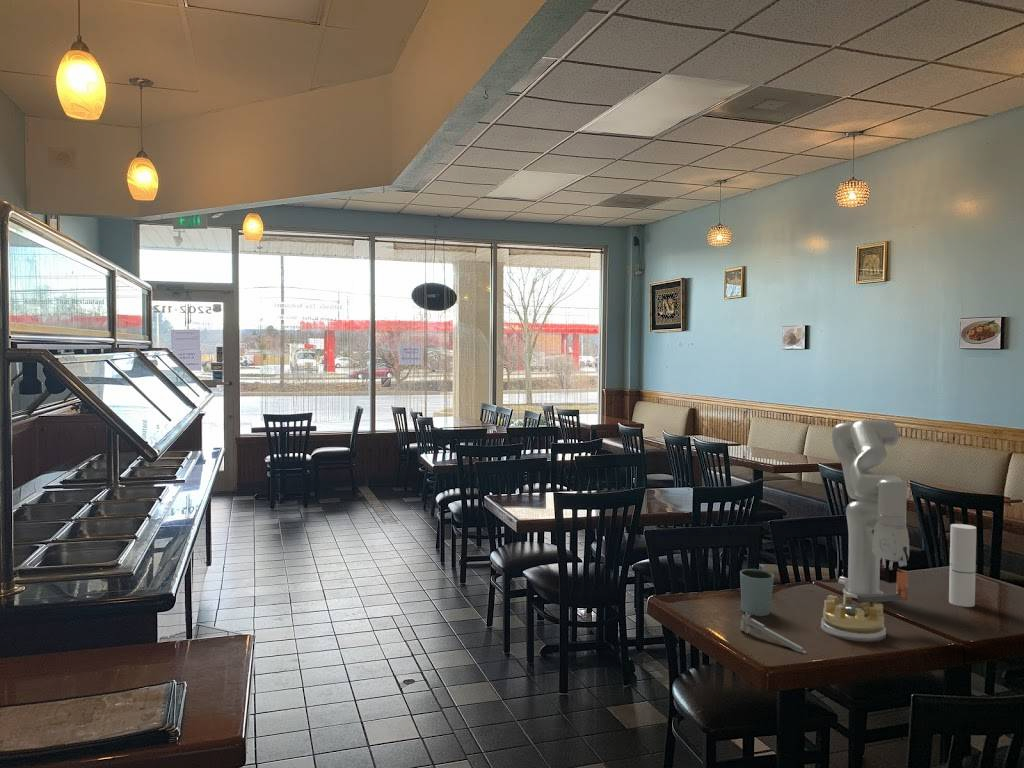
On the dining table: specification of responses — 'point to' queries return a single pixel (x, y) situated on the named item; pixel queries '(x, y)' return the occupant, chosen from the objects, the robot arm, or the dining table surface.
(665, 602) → the dining table surface
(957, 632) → the dining table surface
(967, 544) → the cylindrical container
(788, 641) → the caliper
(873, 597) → the crank handle mechanism
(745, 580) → the grey green cup
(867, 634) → the plate
